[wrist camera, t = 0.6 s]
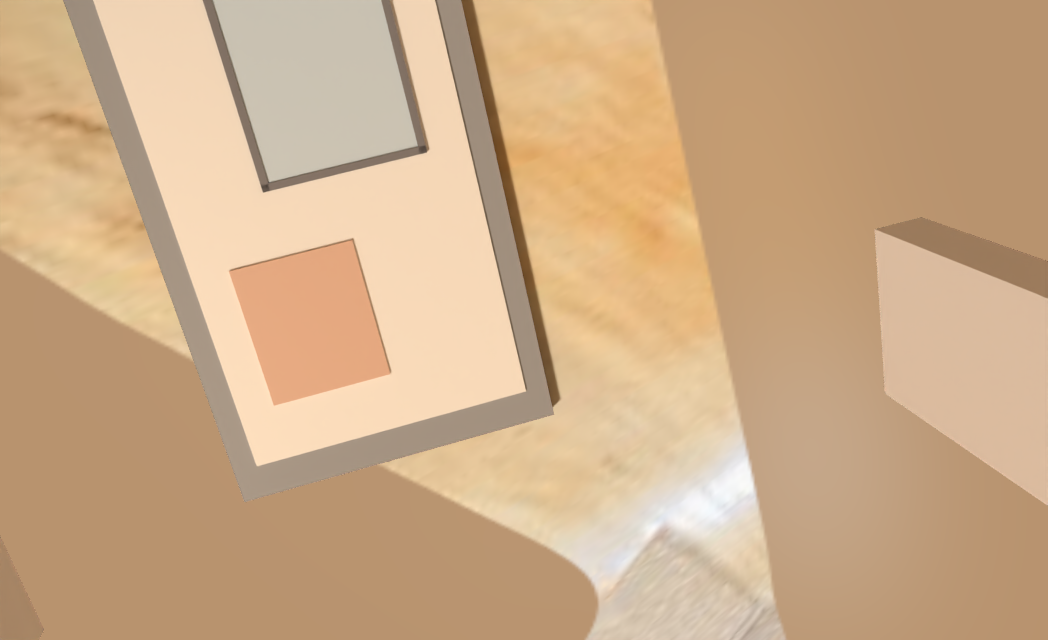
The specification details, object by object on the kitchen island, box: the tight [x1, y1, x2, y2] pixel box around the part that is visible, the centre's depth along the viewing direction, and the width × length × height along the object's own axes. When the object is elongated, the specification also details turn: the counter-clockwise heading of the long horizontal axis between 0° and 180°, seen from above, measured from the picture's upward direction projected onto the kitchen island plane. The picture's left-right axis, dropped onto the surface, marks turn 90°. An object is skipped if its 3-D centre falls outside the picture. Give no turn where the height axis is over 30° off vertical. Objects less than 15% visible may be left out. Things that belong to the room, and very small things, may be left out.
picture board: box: [63, 0, 554, 502], centre depth 37 cm, size 24×14×1 cm, turn 12°
